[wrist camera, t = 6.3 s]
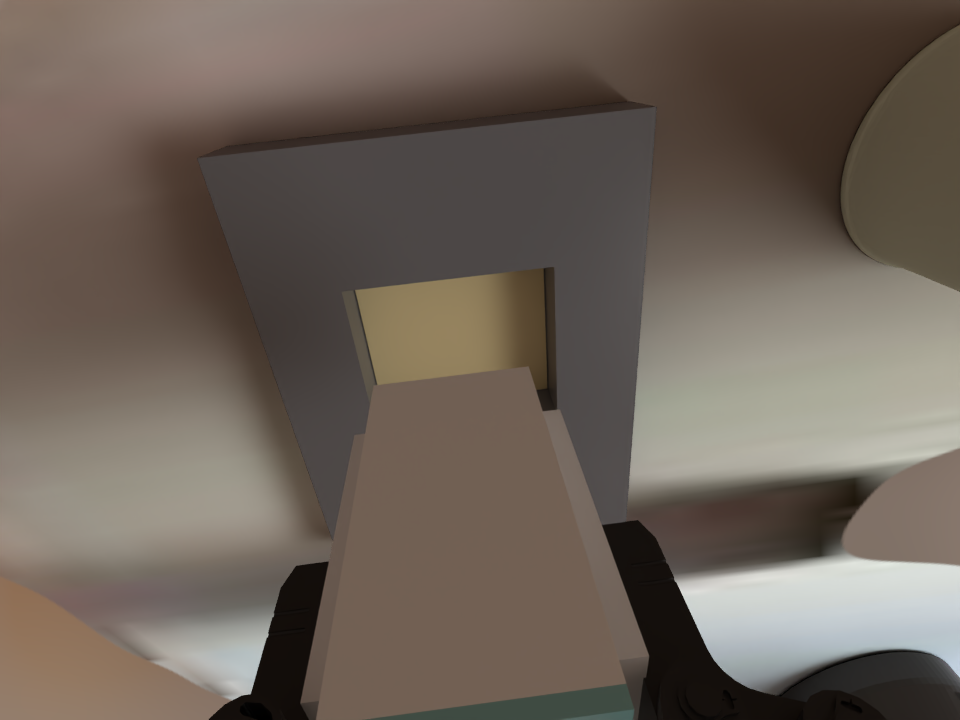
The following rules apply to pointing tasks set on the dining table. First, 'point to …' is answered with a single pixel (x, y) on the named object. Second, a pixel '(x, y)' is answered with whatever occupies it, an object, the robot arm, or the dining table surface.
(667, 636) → the robot arm
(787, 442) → the dining table surface
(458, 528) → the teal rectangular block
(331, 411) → the socket
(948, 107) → the can
